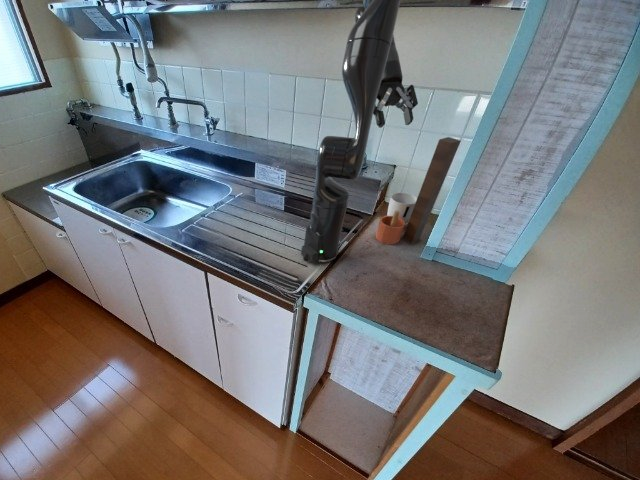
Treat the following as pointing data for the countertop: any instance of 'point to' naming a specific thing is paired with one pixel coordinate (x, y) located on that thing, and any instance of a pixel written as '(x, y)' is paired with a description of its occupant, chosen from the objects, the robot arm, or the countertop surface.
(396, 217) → the stick
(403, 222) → the terracotta pot
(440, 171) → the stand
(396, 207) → the cup
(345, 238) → the countertop surface
